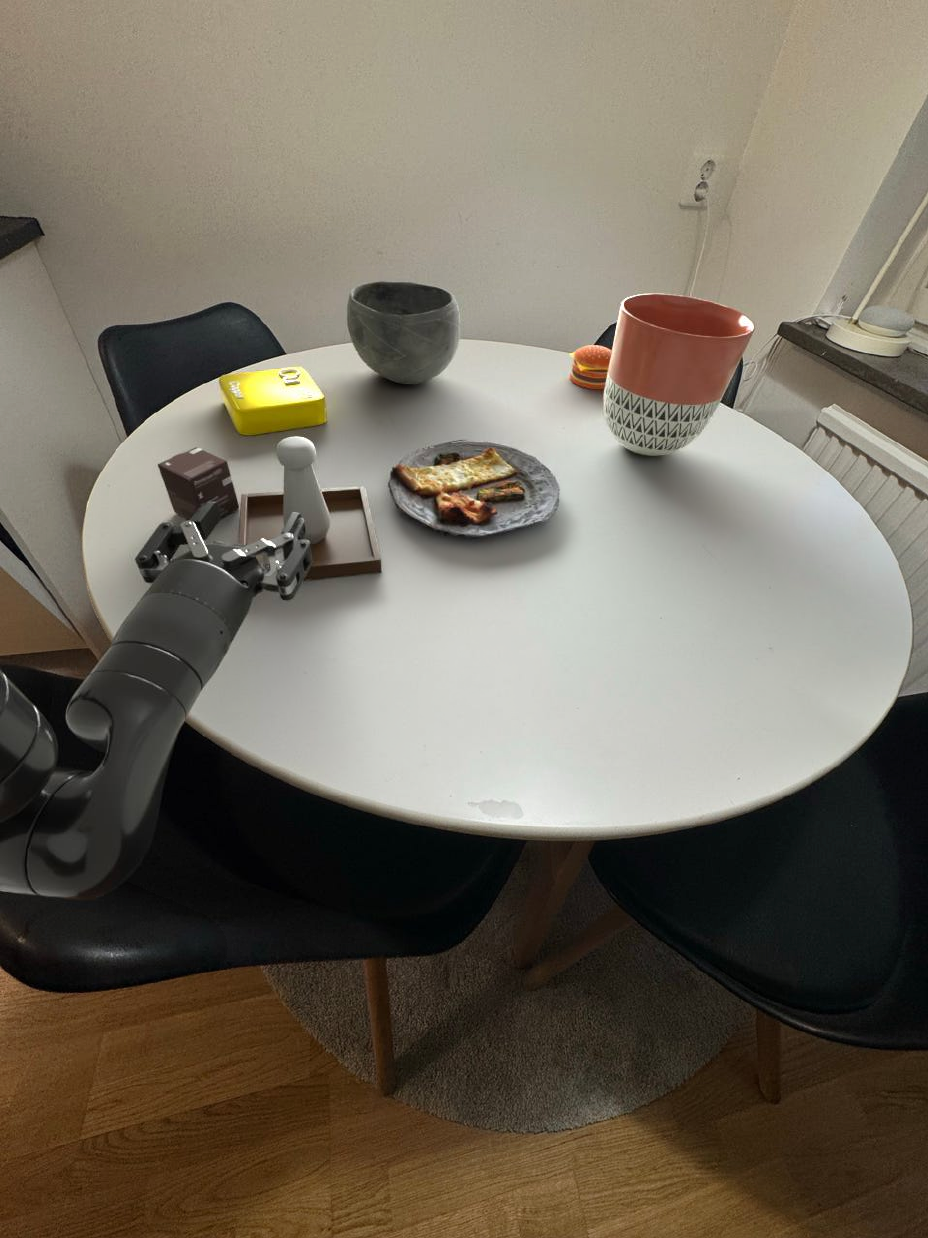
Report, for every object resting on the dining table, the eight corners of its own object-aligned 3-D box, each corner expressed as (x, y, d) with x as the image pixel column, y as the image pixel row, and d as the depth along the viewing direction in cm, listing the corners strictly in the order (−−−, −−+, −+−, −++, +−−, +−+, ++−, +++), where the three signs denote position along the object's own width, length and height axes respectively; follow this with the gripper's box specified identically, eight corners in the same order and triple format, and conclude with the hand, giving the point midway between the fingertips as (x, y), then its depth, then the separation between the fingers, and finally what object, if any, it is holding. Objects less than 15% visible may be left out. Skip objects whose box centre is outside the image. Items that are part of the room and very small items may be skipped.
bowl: (346, 358, 114) (340, 275, 103) (444, 356, 119) (448, 277, 108) (356, 402, 100) (350, 312, 89) (468, 398, 105) (475, 313, 94)
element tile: (222, 399, 97) (215, 371, 93) (305, 388, 102) (302, 362, 99) (239, 438, 88) (232, 409, 85) (330, 424, 93) (327, 396, 90)
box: (204, 529, 71) (188, 480, 66) (173, 513, 73) (155, 463, 68) (241, 508, 75) (228, 460, 70) (210, 493, 77) (196, 445, 72)
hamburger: (619, 390, 113) (628, 356, 108) (575, 390, 111) (583, 356, 107) (604, 371, 119) (612, 339, 115) (562, 371, 118) (569, 338, 113)
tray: (240, 587, 64) (236, 573, 63) (244, 507, 75) (241, 493, 74) (381, 572, 68) (381, 559, 66) (365, 498, 79) (364, 485, 77)
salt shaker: (341, 532, 72) (332, 440, 62) (311, 554, 68) (296, 460, 59) (308, 516, 74) (294, 425, 64) (276, 537, 70) (257, 443, 61)
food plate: (424, 561, 70) (425, 539, 67) (367, 469, 84) (366, 449, 82) (585, 522, 79) (591, 501, 76) (508, 445, 93) (511, 426, 90)
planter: (623, 482, 87) (669, 340, 72) (569, 425, 100) (598, 294, 84) (722, 469, 93) (784, 334, 77) (659, 417, 105) (701, 292, 90)
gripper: (261, 607, 41) (322, 490, 52) (75, 583, 41) (176, 472, 53) (277, 670, 46) (329, 552, 58) (113, 648, 47) (197, 535, 58)
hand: (256, 514), depth 55 cm, fingers open, 8 cm apart
